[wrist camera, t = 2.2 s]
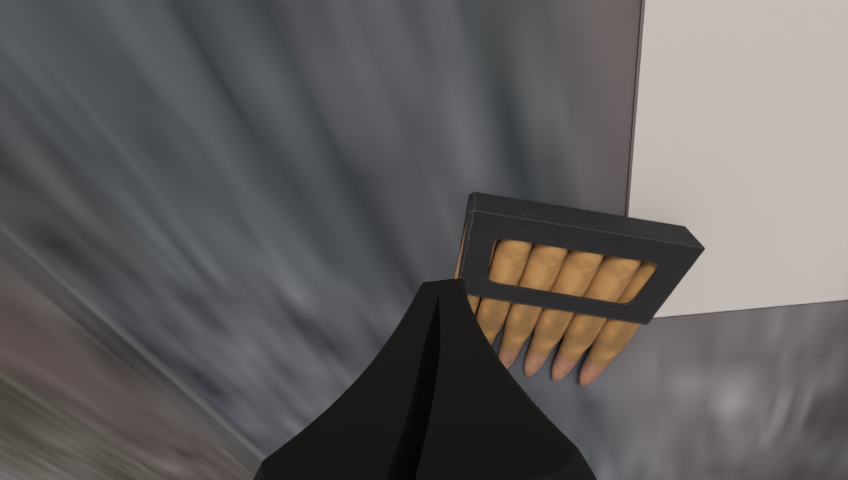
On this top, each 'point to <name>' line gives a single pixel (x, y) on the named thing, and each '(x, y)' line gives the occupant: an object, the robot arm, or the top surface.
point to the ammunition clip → (567, 278)
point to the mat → (745, 147)
